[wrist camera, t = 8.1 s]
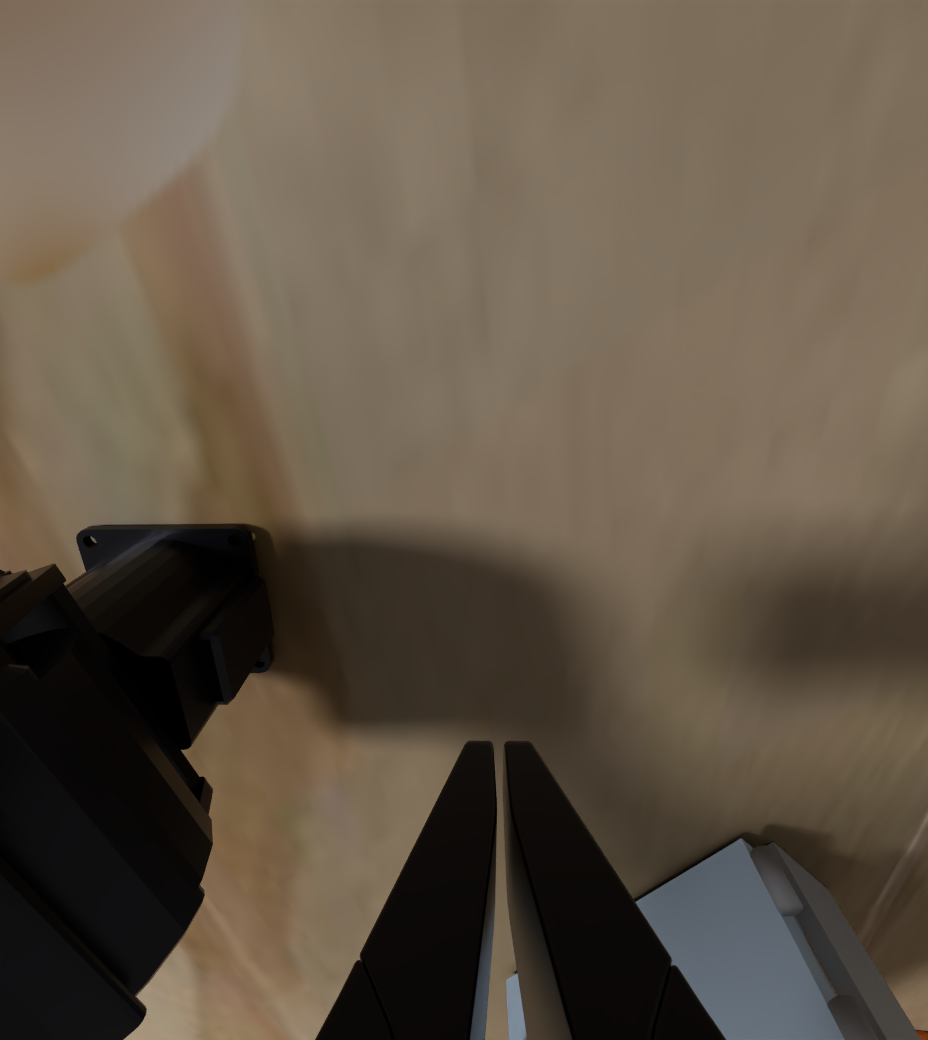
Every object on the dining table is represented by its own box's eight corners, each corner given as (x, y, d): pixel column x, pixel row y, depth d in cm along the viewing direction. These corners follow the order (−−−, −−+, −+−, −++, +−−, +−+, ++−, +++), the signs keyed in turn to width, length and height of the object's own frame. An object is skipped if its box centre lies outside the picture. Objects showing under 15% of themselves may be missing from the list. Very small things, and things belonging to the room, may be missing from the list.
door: (491, 970, 29) (500, 1279, 20) (743, 815, 24) (912, 1123, 15) (524, 991, 30) (548, 1299, 20) (776, 843, 25) (958, 1155, 16)
